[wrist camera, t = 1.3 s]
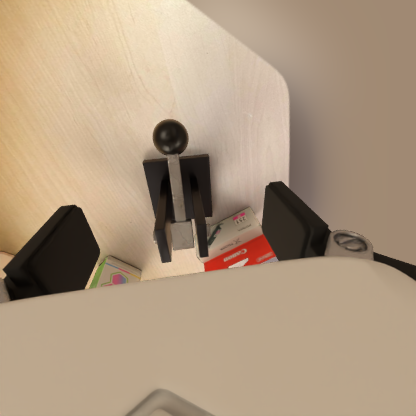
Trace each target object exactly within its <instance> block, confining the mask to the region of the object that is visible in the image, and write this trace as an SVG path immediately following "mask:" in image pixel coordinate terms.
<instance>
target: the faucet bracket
mask: <svg viewBox="0 0 416 416" xmlns="http://www.w3.org/2000/svg"><path fill="white" fill-rule="evenodd" d="M179 163H180V172H181V180H182V188H183V197H184V205H185V213H186V218H191V219H194V220H195V227H196V235H197V242H198V250H199V257H200V258H204V257H209V253H208V239H207V237H210V236H211V229H210V224H206V220H205V217H212V201H211V182H210V164H209V155H208V154H203V155H193V156H182V157H179ZM143 166H144V171H145V175H146V180H147V184H148V188H149V193H150V197H151V201H152V206H153V210H154V214H155V219H156V221H155V227H154V232H153V238H154V242H155V243H157V245H158V249H159V253H160V257H161V261H162V263H166V262H171V252H172V237H171V229H170V223H171V221H172V220H175V213H174V205H173V197H172V189H171V181H170V173H169V166H168V158H161V159H150V160H144V161H143Z"/></svg>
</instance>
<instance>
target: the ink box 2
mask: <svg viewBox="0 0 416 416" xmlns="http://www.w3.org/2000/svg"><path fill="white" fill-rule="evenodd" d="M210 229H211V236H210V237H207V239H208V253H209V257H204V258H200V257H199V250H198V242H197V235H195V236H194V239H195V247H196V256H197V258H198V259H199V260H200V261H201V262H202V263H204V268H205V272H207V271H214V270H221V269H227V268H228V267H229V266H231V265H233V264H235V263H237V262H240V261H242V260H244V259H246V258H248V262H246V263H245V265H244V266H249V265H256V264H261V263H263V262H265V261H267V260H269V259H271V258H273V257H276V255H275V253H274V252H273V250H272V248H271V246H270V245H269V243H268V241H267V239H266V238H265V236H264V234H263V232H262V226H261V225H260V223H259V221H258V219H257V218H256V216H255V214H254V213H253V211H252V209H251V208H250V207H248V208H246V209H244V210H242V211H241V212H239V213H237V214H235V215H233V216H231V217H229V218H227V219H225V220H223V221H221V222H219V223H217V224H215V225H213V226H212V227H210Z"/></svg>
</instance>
